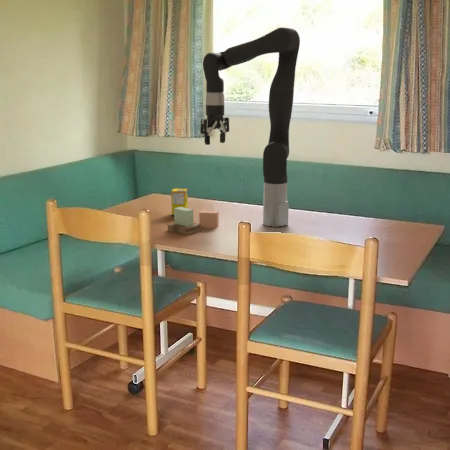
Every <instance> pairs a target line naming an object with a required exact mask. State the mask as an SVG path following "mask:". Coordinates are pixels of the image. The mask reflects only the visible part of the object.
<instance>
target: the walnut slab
mask: <svg viewBox="0 0 450 450" xmlns="http://www.w3.org/2000/svg"><path fill="white" fill-rule="evenodd" d="M200 231H202V227H201V224H199V223H195V222H194V225H191V226H187V227H186V226H183V225H179V224H175V221H174V222H172V223H168V224H167V232H171V233H172V232H173V233H177V234H181V235H186V236H189V235H191V234H196V233H198V232H200Z"/></svg>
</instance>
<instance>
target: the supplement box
mask: <svg viewBox="0 0 450 450" xmlns="http://www.w3.org/2000/svg"><path fill="white" fill-rule="evenodd" d="M170 196H171V216H172V217H174V208H178V207H184V208H188V209H189V207H188V205H189V203H188V199H189V198H188V188H179V187H178V188H177V187H176V188H173V189H172V190H171V195H170Z"/></svg>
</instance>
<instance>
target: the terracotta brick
mask: <svg viewBox="0 0 450 450" xmlns="http://www.w3.org/2000/svg"><path fill="white" fill-rule="evenodd" d="M198 215H199V217H198V218H199V219H198V220H199V221H198V222H199V223H198V224H201V228H209V229H211V228H213V229H217V228H218V227H219V223H220V222H219V211H218V210H202V209H201V210H200V211H199V212H198Z"/></svg>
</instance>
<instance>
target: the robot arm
mask: <svg viewBox="0 0 450 450" xmlns="http://www.w3.org/2000/svg"><path fill="white" fill-rule="evenodd" d="M300 38H301V37H300V35H299V32H298V31H297V30H296V29H294V28H291V27H277V28H275V29H274V30H272V31H270V32H268V33H266V34H264V35H263V36H260V37H258V38H256V39H253V40H249V41H247V42H244V43H241V44H238V45H233V46H231V47H229V48H226V50H224V51H219V52H208V53H207V54H205V56H204V58H203V59H202V69H203V74H204V78H205V82H206V89H205V90H206V91H205V92H206V94H205V115H206V117H207V118H206V119H205V118H201V119H200V131H199V132H200V134H201V135H204V145H206V146H207V145H208V146H209V145H210V144H211V136H210V135H211V133H212V132H213V131H214V130H218V131H219V143H221V144H224V143H226V134H227V133H229V132H230V118H229V117H227V116H225V93H224V90H225V82H224V79H223V77H220V73H219V71H220V72H221V71H223V70H227V69H229V68H231V67H232V66H238V65H241V64H244V63H247V62H250V61H252V60H254V59H255V58H258V57H260V56H263V55H268V54H274V53H275V54H277V53H278V62H277V63H278V64H277V69H276V72H275V75H274V76H273V79H272V82H271V84H270V88H269V93H268V114H269V115H268V116H269V122H270V130H269V138H268V143H267V144H266V146H265V147H264V149H263V152H262V154H263V155H262V175H263V199H262V201H263V204H262V205H263V207H262V209H263V210H262V211H263V212H262V224H263V225H264V226H266V227H270V226H272V227H274V228H280V227H279V226H281V227H285V226H288V225H289V210H290V209H289V206H290V205H289V203H290V202H289V201H288V199H287V198H288V171H287V170H288V169H287V166H288V162H287V161H288V158H289V155H290V124H291V119H292V113H293V112H292V111H293V106H294V94H295V93H294V90H295V82H296V80H295V79H296V66H297V62H298V56H299V51H300V45H301V44H300V43H301V39H300ZM287 224H288V225H287ZM284 225H285V226H284Z"/></svg>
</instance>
